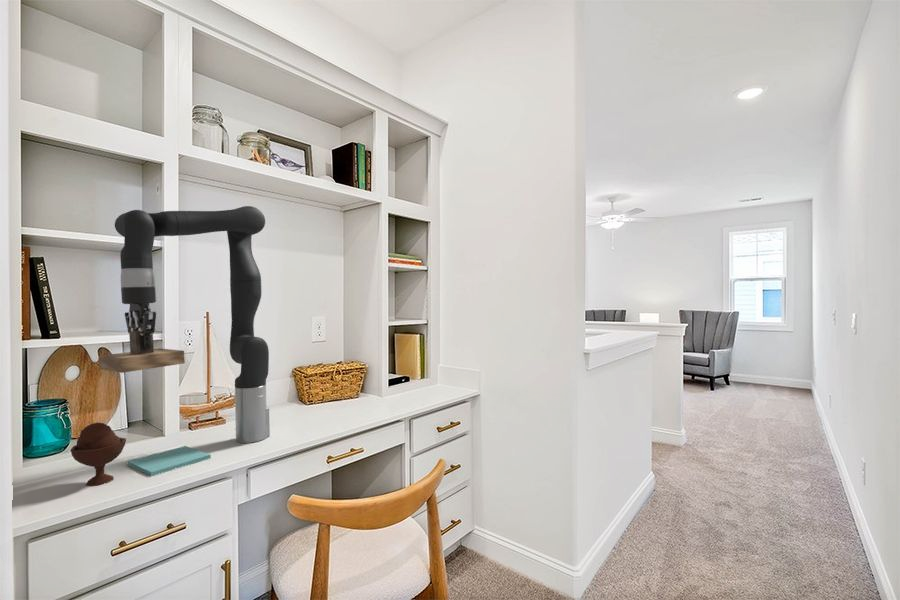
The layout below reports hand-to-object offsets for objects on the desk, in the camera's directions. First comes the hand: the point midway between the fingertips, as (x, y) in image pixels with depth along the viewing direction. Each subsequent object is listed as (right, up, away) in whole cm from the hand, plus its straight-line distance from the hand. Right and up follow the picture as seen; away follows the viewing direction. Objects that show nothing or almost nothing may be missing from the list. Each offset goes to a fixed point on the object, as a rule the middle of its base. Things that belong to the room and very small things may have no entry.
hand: (142, 349), depth 119 cm
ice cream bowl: (-5, -33, -8) cm, 34 cm away
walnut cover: (0, -5, 0) cm, 5 cm away
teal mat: (+4, -32, +5) cm, 33 cm away
